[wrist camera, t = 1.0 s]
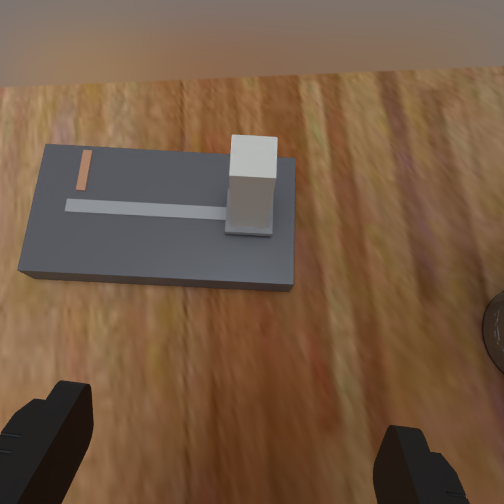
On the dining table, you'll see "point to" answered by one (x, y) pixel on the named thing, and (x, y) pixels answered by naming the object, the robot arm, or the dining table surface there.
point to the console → (151, 221)
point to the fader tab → (251, 185)
